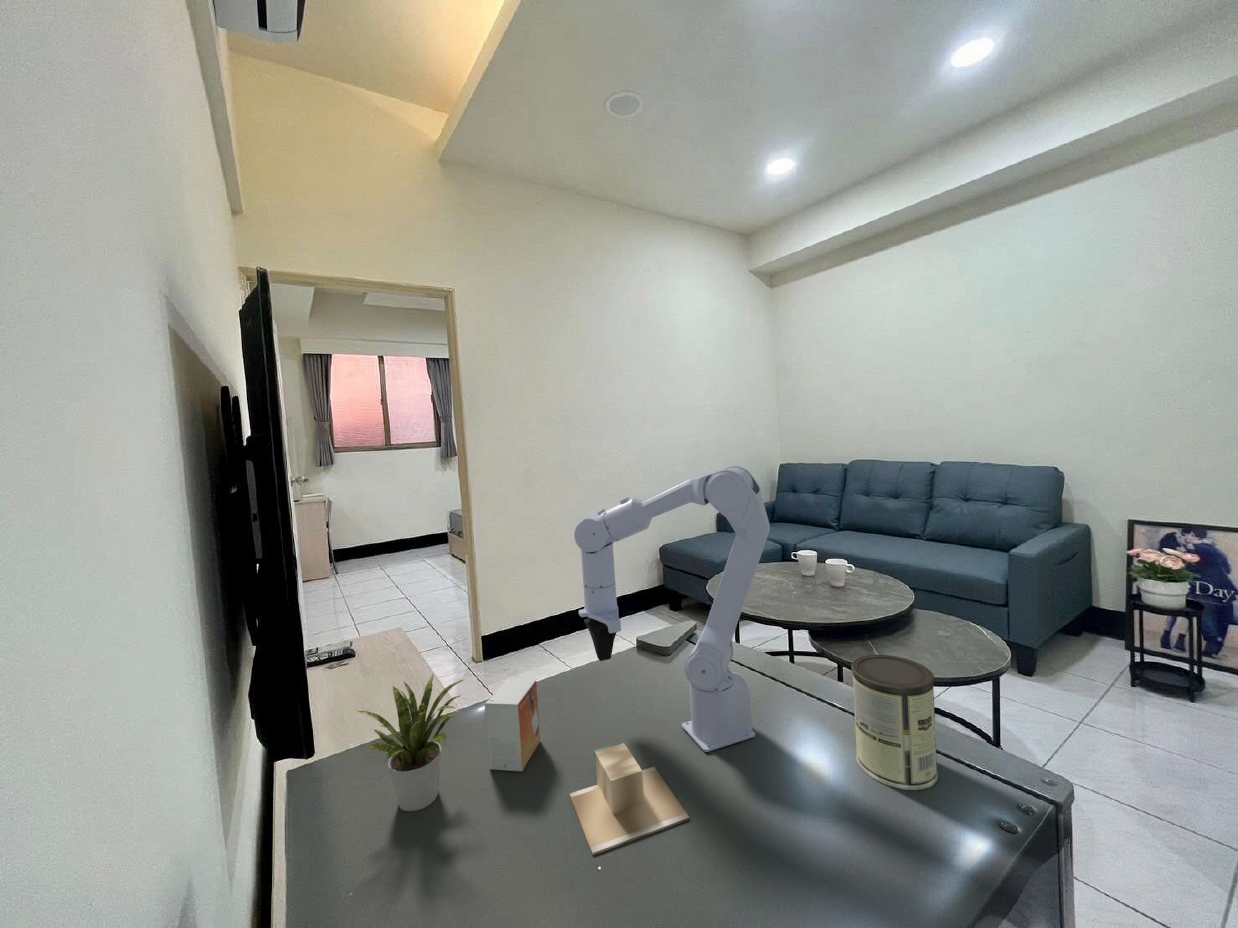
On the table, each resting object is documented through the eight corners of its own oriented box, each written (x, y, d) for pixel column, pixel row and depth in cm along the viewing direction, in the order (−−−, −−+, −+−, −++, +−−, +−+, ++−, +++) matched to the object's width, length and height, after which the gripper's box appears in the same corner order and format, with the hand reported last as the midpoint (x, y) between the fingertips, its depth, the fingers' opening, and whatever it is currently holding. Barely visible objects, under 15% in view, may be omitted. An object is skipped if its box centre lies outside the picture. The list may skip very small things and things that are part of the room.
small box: (522, 773, 73) (517, 705, 73) (488, 770, 74) (483, 703, 74) (541, 740, 81) (537, 679, 81) (510, 738, 82) (505, 677, 82)
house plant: (498, 772, 74) (491, 667, 73) (436, 846, 60) (426, 718, 60) (422, 758, 78) (414, 658, 78) (349, 823, 65) (339, 704, 64)
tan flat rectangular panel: (654, 768, 72) (654, 766, 72) (689, 819, 62) (689, 817, 62) (569, 795, 68) (569, 793, 68) (592, 855, 58) (592, 852, 58)
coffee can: (867, 735, 77) (863, 648, 76) (944, 761, 70) (941, 665, 69) (845, 769, 70) (841, 673, 69) (929, 802, 62) (925, 696, 62)
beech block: (623, 741, 71) (642, 770, 65) (624, 771, 72) (644, 803, 65) (594, 750, 70) (610, 780, 63) (596, 780, 70) (612, 814, 63)
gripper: (567, 577, 92) (572, 647, 92) (590, 598, 78) (595, 681, 79) (602, 571, 94) (607, 640, 95) (630, 591, 81) (635, 671, 81)
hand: (604, 658), depth 87 cm, fingers closed
